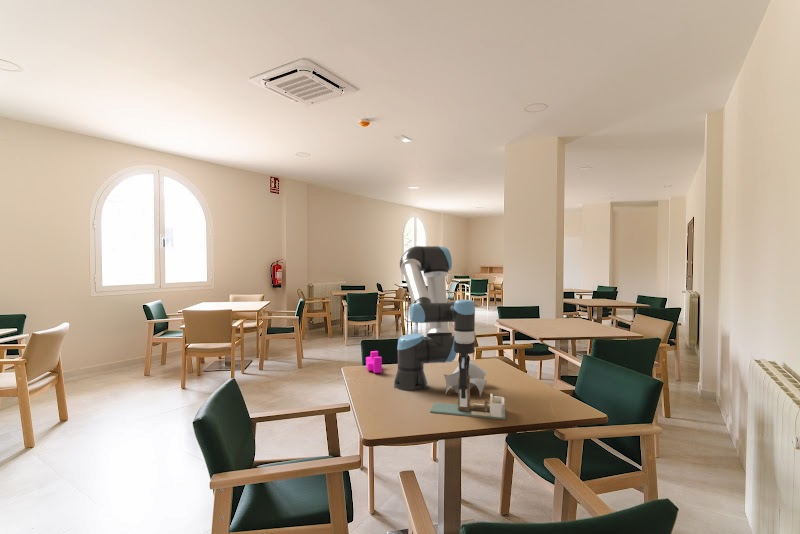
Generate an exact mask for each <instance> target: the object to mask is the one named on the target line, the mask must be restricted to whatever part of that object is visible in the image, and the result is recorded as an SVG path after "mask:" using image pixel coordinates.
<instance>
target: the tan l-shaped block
mask: <svg viewBox="0 0 800 534" xmlns="http://www.w3.org/2000/svg"><path fill="white" fill-rule="evenodd" d="M459 385H460V375H459V377H458V387H459ZM470 397H471V388H470V376H469V375H467V407H461V406H460V389H458V393H457V405H458V410H462V411H469V410H480V411H484V412H486V413H487V406H488V405H489V404H488V402H489V401H488V399H486V398H485V399H484V403H483V404H484V407H479V406H473V405H471V403H470V402H471V398H470Z"/></svg>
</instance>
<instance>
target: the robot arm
mask: <svg viewBox="0 0 800 534" xmlns="http://www.w3.org/2000/svg"><path fill="white" fill-rule="evenodd" d="M452 259H453V258H452V255H451V252H450V250H449V249H448V248H447V247H446V246H439V245H436V246H434V245H433V246H429V245H428V246H422V245H421V246H419V245H418V246H413V247H412V246H411V247H410V248H408V249H407V250H405V252H404V253H403V254H402V256H401V258H400V262H399V269H400V271H401V273H402V275H403V276H404V279H405V283H406V284H407V289H408V293H409V296H410V299H411V304H410V305H409V309H408V310H409V313H408V314H409V320H410V322H412V323H416V324H418V323H419V324H425V323H426V324H427V323H429V329H428V331H427V332H426V336H424V334H422V333H409V334H405V335H402V336H400V337H399V338H398V339H397V346H396V347H397V348H396V349H397V371H396V374H395V376H394V377H395V378H394V381H393V388H394V389H397V390H400V391H409V392H411V391H412V392H415V391H416V392H417V391H425V390H427V389H428V380H427V377H426V373H425V370H424V369H425V368H424V364H437V363H438V364H441V363H442V364H445V363H451V362H453V361H454V360H455V359H456V356H457V354H460V355H459V356H458V366H459V370H460V385H459V387H458V389H460V406H461V407H467V375H469V361H471V356H470V355H472V354H474V353H475V348H476V347H475V345H476V343H475V337H476V336H477V333H476V332H475V324H476V323H475V321H476V320H475V319H476V317H475V315H476V308H475V307H476V306H475V301H474V300H470V299H456V300H455V301H449V302H447V301H448V300H447V299H448V298H447V284H446V277H447V276H448V275H449V271H451V270H452V268H453V267H452V265H453V260H452ZM422 272H423V273H422ZM424 277H425V278H426V281H427V284H426V282H425V279H424ZM426 285H427V286H426ZM449 323H454V325H453V327H454V328H453V331H451V330H450V329H449Z"/></svg>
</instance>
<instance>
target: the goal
mask: <svg viewBox="0 0 800 534" xmlns="http://www.w3.org/2000/svg"><path fill="white" fill-rule="evenodd" d="M493 402H496V403H498V404H495V403H493ZM489 405H490V416H491V417H502V418H504V409H505V397H504V396H496V395H493V393H490V398H489Z"/></svg>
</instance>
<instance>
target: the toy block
mask: <svg viewBox="0 0 800 534" xmlns="http://www.w3.org/2000/svg"><path fill="white" fill-rule="evenodd" d="M382 361H383V358H382V356H379V351H378V350H373V351H370V356H366V357H365V366H366V368H367V371H369V372H370V371H371V372H373V373H374V374H377V373H378V374H379V373H380V374H381V373H382V372H383V371H382V370H383V367H382V366H383V362H382Z"/></svg>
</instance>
